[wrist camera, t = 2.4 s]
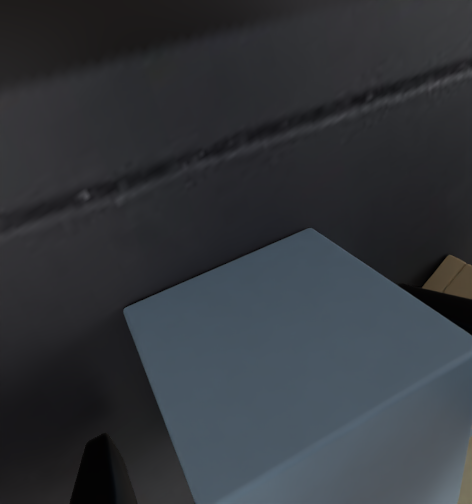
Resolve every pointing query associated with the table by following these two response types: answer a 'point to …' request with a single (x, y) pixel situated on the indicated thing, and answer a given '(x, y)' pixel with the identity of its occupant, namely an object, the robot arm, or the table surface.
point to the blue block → (307, 381)
